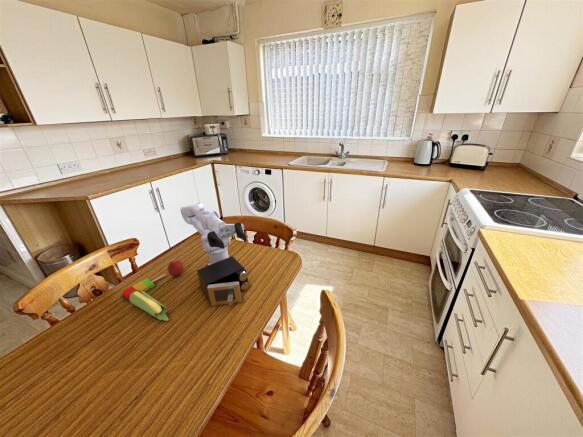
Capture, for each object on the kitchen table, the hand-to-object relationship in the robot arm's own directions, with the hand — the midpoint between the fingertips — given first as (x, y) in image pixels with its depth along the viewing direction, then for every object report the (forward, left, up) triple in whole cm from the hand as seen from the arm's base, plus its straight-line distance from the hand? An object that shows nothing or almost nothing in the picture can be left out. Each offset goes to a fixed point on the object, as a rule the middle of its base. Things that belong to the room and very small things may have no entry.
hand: (234, 241), depth 77 cm
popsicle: (-26, -27, -21) cm, 43 cm away
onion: (-25, -16, -21) cm, 37 cm away
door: (+3, -8, -21) cm, 23 cm away
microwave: (-6, -4, -21) cm, 22 cm away
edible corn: (-12, -28, -22) cm, 37 cm away
